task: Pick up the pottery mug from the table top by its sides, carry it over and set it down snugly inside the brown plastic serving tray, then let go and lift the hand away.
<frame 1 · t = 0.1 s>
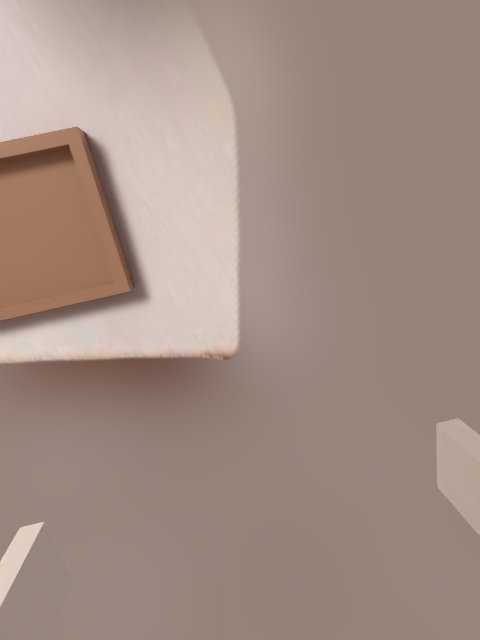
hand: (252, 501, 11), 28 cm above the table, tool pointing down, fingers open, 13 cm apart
serving tray: (26, 233, 33), on the table
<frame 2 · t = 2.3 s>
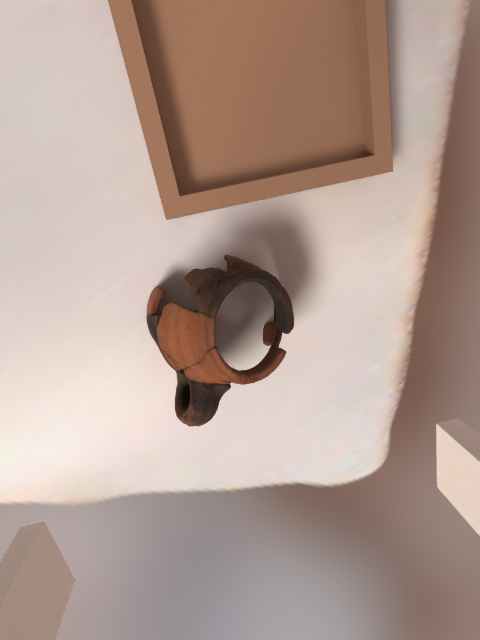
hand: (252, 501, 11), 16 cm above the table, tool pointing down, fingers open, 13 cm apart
serving tray: (252, 52, 21), on the table
pottery mug: (209, 325, 26), on the table
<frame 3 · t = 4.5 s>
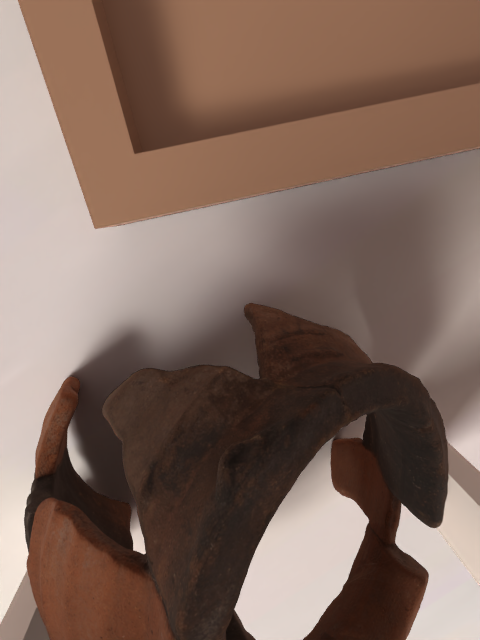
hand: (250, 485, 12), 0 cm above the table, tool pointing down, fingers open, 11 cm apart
pottery mug: (208, 445, 11), on the table
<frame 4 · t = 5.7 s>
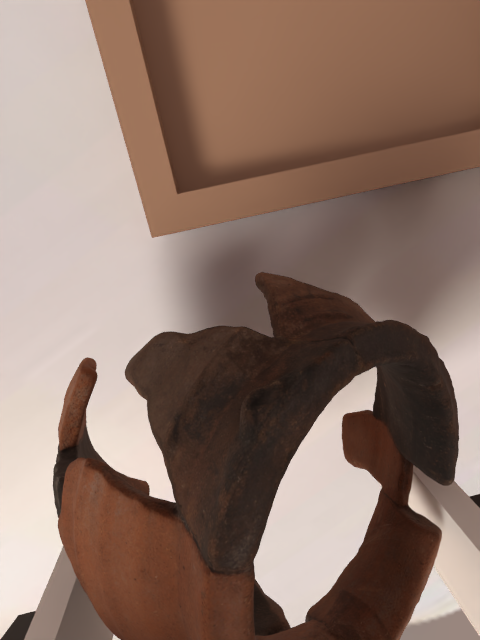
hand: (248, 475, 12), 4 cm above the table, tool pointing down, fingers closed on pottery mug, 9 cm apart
pottery mug: (222, 423, 12), point 4 cm above the table, touching gripper
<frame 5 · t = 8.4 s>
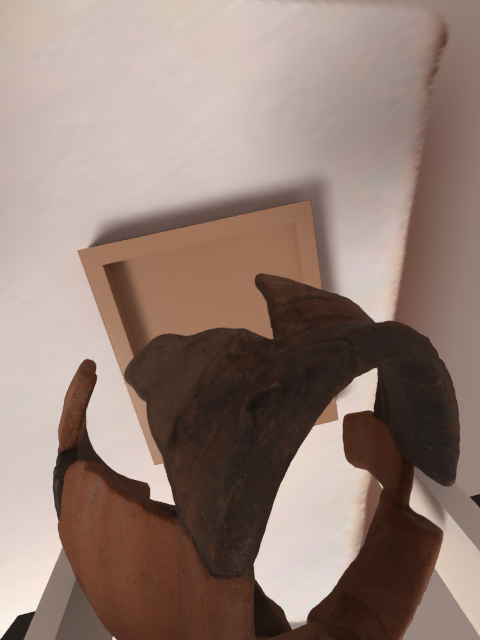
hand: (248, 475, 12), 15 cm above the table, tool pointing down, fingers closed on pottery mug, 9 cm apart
serving tray: (223, 336, 26), on the table
pottery mug: (222, 424, 12), point 14 cm above the table, touching gripper
when the fingers open (3 cm above the table, at t = 11.3 s): pottery mug drops 2 cm, resting on serving tray.
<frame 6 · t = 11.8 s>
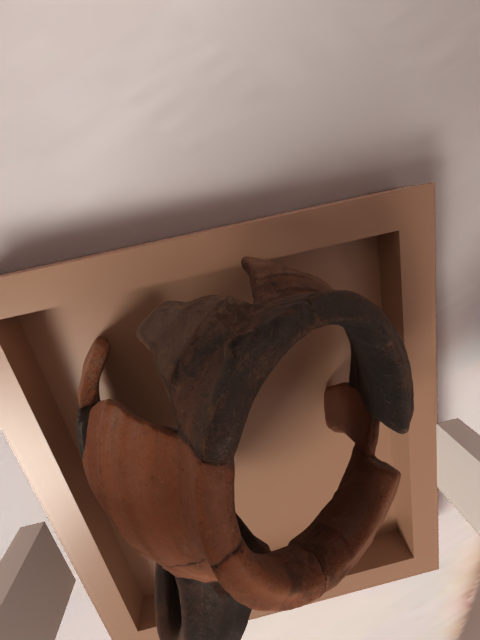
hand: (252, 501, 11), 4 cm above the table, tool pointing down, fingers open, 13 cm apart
serving tray: (240, 432, 14), on the table
pottery mug: (218, 396, 13), resting on serving tray
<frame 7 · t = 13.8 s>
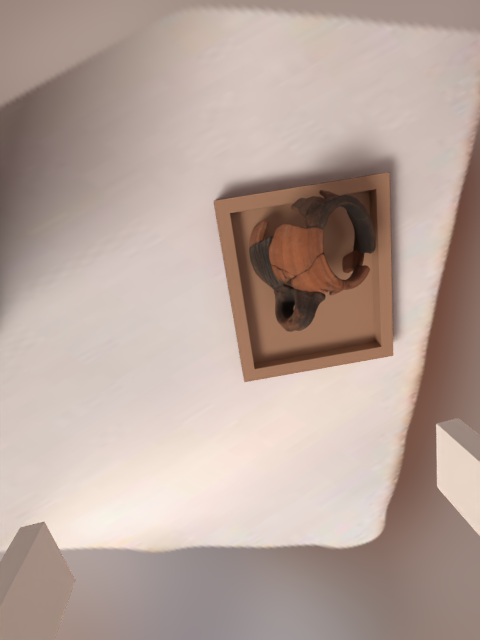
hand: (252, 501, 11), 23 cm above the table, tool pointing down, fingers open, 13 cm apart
serving tray: (305, 281, 33), on the table
pottery mug: (297, 258, 31), resting on serving tray
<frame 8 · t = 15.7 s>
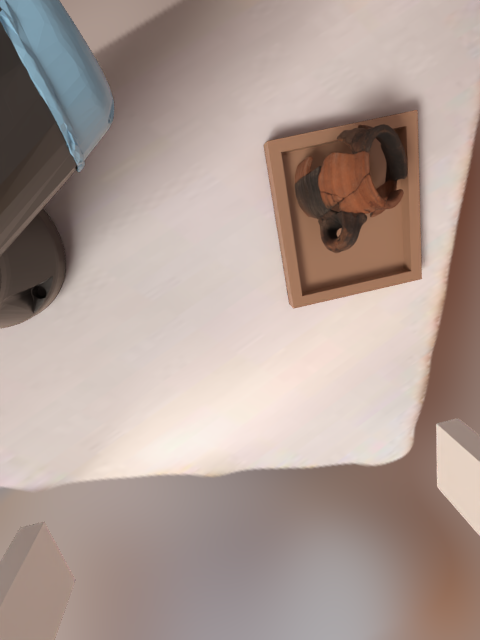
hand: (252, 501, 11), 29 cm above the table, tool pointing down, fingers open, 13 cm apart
serving tray: (343, 216, 37), on the table
pottery mug: (335, 193, 36), resting on serving tray
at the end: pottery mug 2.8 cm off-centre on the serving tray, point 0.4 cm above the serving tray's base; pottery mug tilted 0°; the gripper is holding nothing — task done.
